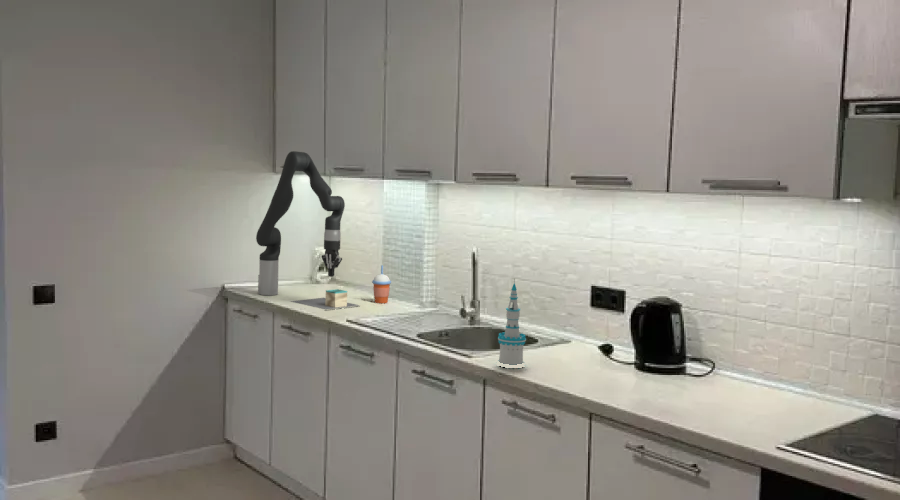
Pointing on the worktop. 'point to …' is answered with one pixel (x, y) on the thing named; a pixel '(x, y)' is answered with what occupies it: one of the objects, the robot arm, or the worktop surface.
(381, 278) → the cup with straw
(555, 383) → the worktop surface
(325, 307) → the rubber mat
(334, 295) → the birch cube
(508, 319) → the model tower
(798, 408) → the worktop surface
